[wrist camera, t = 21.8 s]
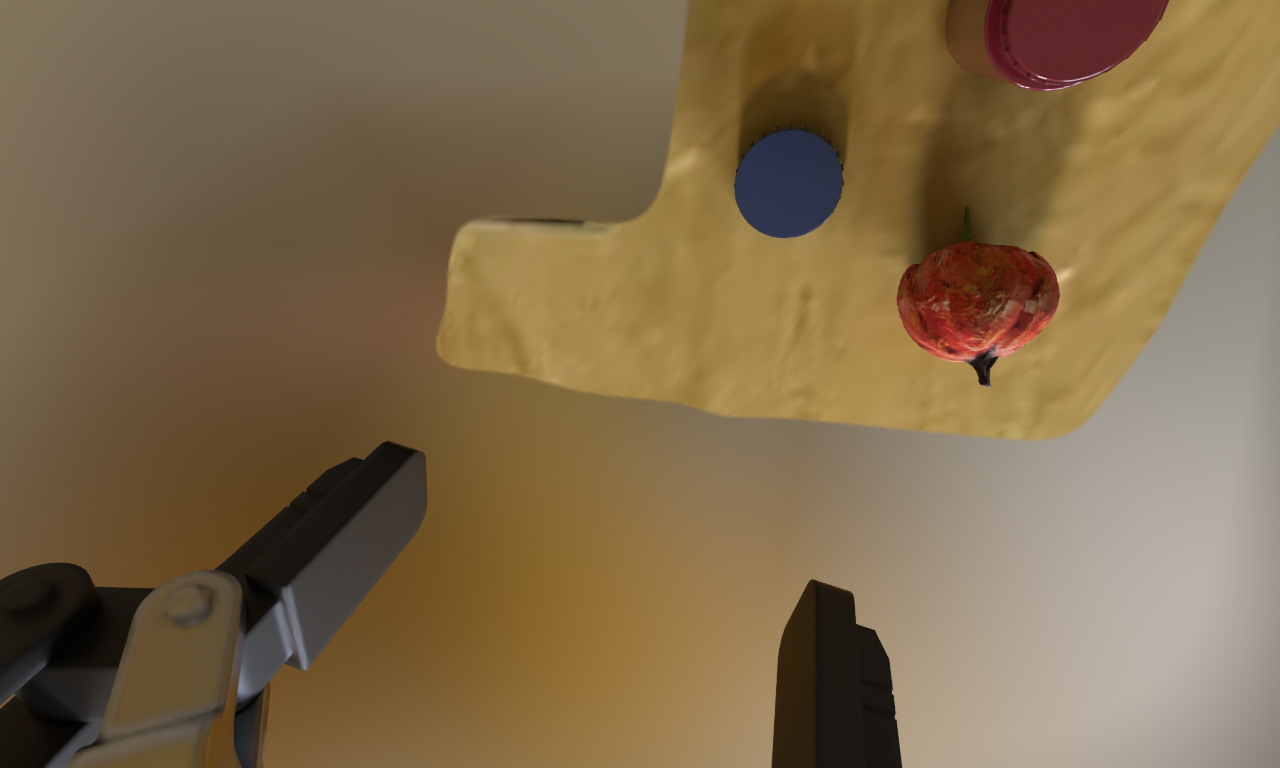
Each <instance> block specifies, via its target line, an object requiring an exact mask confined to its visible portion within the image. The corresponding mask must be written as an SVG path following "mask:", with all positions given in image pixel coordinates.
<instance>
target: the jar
mask: <svg viewBox="0 0 1280 768" xmlns="http://www.w3.org/2000/svg"><path fill="white" fill-rule="evenodd" d="M1168 2H1169V0H952V1H951V4H950V7H949V10H948V14H947V19H946V28H945V31H946V41H947V46H948V49H949V52H950V54H951V56H952V58H953V59H954V60H955V62H956V63H957V64H958V65H959V66H960V67H961V68H962V69H963V70H965V71H966V72H968V73H970V74H972V75H974V76H978V77H981V78H985V79H989V80H993V81H997V82H1001V83H1005V84H1009V85H1013V86H1017V87H1021V88H1025V89H1029V90H1036V91H1052V90H1059V89H1064V88H1068V87H1071V86H1074V85H1077V84H1080V83H1082V82H1084V81H1087V80H1089V79H1091V78H1094V77H1096V76H1098V75H1101V74H1103V73H1105V72H1108V71H1109V70H1111V69H1112V68H1114V67H1115V66H1117V65H1118V64H1119V63H1121V62H1122V61H1124V60H1125V59H1128V58H1129V57H1130V56H1131V55H1132V54H1133V52H1134V51H1135V50H1136V49H1137V48H1138V47H1139V46H1140V45H1141V44H1142V43H1143V42H1144V41H1146V40H1147V39H1148V37H1149V36H1150V34H1151V33H1152V31H1153V30H1154V28H1155V27H1156V25H1157V24H1158V22H1159V21H1160V20H1161V19H1162V17H1163V14H1164V12H1165V9H1166V7H1167V4H1168Z"/></svg>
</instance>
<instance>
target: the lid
mask: <svg viewBox="0 0 1280 768" xmlns="http://www.w3.org/2000/svg"><path fill="white" fill-rule="evenodd" d="M741 159H742V161H741V163H740V165H739V167H738V169H737V170H736V173H737V174H736V179H735V184H734V187H735V197H736V198H735V199H736V201H737V205H738V208H739V210H740V212H741V214H742V215H743V217H744V218H745V219H746V221H747V222H748V223H749V224H750V225H751V226H752V227H753V228H755V229H756V230H758V231H759V232H761V233H763V234H766V235H769V236H772V237H777V238H793V237H798V236H801V235H805V234H807V233H809V232H811V231H813V230H815V229H816V228H818V227H819V226H820V225H822V224H823V223H824V222H825V221H826V220H827V219H828V218H829V216H830V215H831V214H832V213H833V212H834V209H835V208H836V206H837V204H838V201H839V199H840V198H841V197H840V196H841V192H842V186H843V185H844V181H843V175H842V171H843V165H842V164H841V163H840V159H839V152H838V151H836V150H835V148H834V146H833V145H832V144H831V140H830V139H829V140H828V139H827V138H826V137H825V136H823V135H822V134H820V131H818V132H817V131H815V130H813V129H810V128H807V126H806V125H805V127H803V126H793V124H791V126H784V127H780V128H779V127H776V129H774V130H771V131H770V132H768V133H766V134H765V133H763V135H762V136H761V137H760V138H759V139H758V140H757V141H756V142H752V144H751V146H750V148H749V150H748V151H747V153H746V154H745V153H744V155H743V156H742V158H741Z"/></svg>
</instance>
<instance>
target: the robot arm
mask: <svg viewBox="0 0 1280 768" xmlns="http://www.w3.org/2000/svg"><path fill="white" fill-rule="evenodd" d="M426 509H427V482H426V458H425V454H424V453H423V452H422V451H418V450H415V449H412V448H409V447H406V446H403V445H400V444H397V443H394V442H391V441H386V442H384V443H382V444H381V445H380V446H378V447H377V448H376V449H375V450H374V451H373V452H372V453H371V454H370V455H369V456H368V457H367V458H366V459H365V460H361V459H358V458H355V457H353V458H351V459H349V460H347V461H345V462H343V463H341V464H339V465H337V466H334V467H332V468H330V469H328V470H327V471H325V472H324V473H323V474H322V475H321V476H320V477H319V478H318V479H317V480H315V481H314V482H313V483H312V484H311V485H310V486H309V487H308V488H307V490H306V492H302V493H301V494H300V495H299V496H298V497H296V498H295V499H294V500H293V501H292V502H291V503H290V506H289V507H285V508H284V509H283V510H282V511H281V512H280V513H278V514H277V515H276V516H275V517H274V518H273V519H272V520H271V521H269V522H268V523H267V524H266V525H265V526H264V527H263V528H262V529H260V531H258V532H257V533H256V534H255V535H254V536H253V537H251V538H250V539H249V540H248V541H247V542H246V543H245V544H244V545H242V546H241V547H240V548H239V549H238V550H237V551H236V552H235V553H234V554H232V555H231V557H229V558H228V559H227V560H226V561H225V562H223V563H222V564H221V565H220V566H218V567H217V568H216V569H214V570H201V571H195V572H190V573H186V574H183V575H180V576H178V577H175V578H173V579H171V580H169V581H167V582H165V583H164V584H162V585H161V586H159V587H158V588H153V589H152V588H151V589H149V588H114V587H95V585H94V583H93V582H92V580H91V578H90V576H89V574H88V573H87V571H86V570H85V569H83V568H82V567H80V566H77V565H75V564H70V563H48V564H43V565H38V566H34V567H30V568H27V569H24V570H21V571H19V572H16V573H14V574H11V575H9V576H7V577H5V578H4V579H2V580H0V705H1V704H2V703H3V702H5V701H6V700H7V699H8V698H9V697H10V696H11V695H13V694H14V693H15V695H16V696H14V697H13V698H12V699H11V700H10V701H9V702H8V703H6V704H5V705H4V706H3V707H2V708H1V709H0V768H263V765H264V754H265V743H266V732H267V731H266V730H267V720H268V710H269V698H270V680H271V679H272V677H273V676H274V675H275V674H276V673H277V671H278V670H279V669H280V668H281V667H282V666H283V664H287V665H290V666H292V667H295V668H298V669H300V670H303V671H306V670H307V669H308V667H309V666H310V665H311V664H312V662H313V661H314V660H315V659H316V657H317V656H318V655H319V654H320V652H321V651H322V650H323V649H324V647H325V646H326V645H327V644H328V642H329V641H330V639H332V637H333V636H334V635H335V634H336V632H337V631H338V630H339V629H340V627H341V626H342V625H343V624H344V622H345V621H346V620H347V619H348V617H349V616H350V615H351V614H352V612H353V611H354V610H355V609H356V607H357V606H358V605H359V604H360V602H361V601H362V600H363V598H364V597H365V596H366V595H367V594H368V592H369V591H370V590H371V589H372V587H373V586H374V585H375V584H376V583H377V581H378V580H379V579H380V578H381V576H382V575H383V574H384V573H385V571H386V570H387V568H389V566H390V565H391V564H392V562H393V561H394V560H395V559H396V558H397V556H398V555H399V554H400V552H401V551H402V550H403V549H404V548H405V546H406V545H407V544H408V542H409V541H410V540H411V539H412V537H413V536H414V535H415V534H416V532H417V531H418V529H419V527H420V526H421V524H422V522H423V519H424V516H425V513H426ZM777 669H778V670H777V686H776V701H775V719H774V736H773V753H772V768H902V762H901V755H900V746H899V737H898V729H897V720H895V714H896V713H895V703H894V695H893V694H892V689H893V687H892V679H891V670H890V662H889V658H888V656H887V654H886V652H885V650H884V648H883V646H882V644H881V642H880V640H879V638H878V636H877V634H876V632H875V630H872V629H869V628H866V627H863V626H860V625H857V624H856V616H855V602H854V596H853V594H852V593H851V592H850V591H847V590H844V589H841V588H838V587H835V586H832V585H829V584H826V583H822V582H819V581H816V580H813V579H812V580H810V581H809V583H808V584H807V586H806V588H805V590H804V592H803V594H802V596H801V598H800V600H799V602H798V603H797V605H796V607H795V610H794V611H793V613H792V615H791V617H790V619H789V621H788V623H787V625H786V627H785V629H784V632H783V635H782V639H781V643H780V648H779V655H778V667H777Z"/></svg>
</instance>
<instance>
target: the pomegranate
mask: <svg viewBox="0 0 1280 768" xmlns="http://www.w3.org/2000/svg"><path fill="white" fill-rule="evenodd" d="M964 223H965V229H964V232H963V235H962V237H963V239H964V241H965V242H959V243H956V244H953V245H950V246H948V247H946V248H943V249H940V250H937V251H934V252H932V253H931V254H930V255H928V256H927V257H925V258H924V259H923V261H922V262H921V263H920V264H912V265H911V266H910V267H908V268H907V270H906V271H905V273H904V274H903V276H902V278H901V281H900V285H899V288H898V294H897V305H898V311H899V314H900V318H901V320H902V323H903V325H904V327H905V329H906V331H907V332H908V334H909V335H910V337H911V338H912V339H913V340H914V341H915V342H916V343H917V344H918V345H919V346H920V347H921V348H923V349H924V350H926V351H927V352H928V353H930V354H932V355H934V356H936V357H939V358H941V359H944V360H947V361H950V362H967V363H969V364H970V365H971V366H973V368H974V369H975V370H976V372H977V374H978V377H979V380H978V381H979V383H980V384H981V385H982V386H985V387H989V388H992V387H991V385H990V380H989V378H990V368H991V367H992V366H993V365H994V363H995V362H996V360H997V359H998V357H1001V356H1007V355H1010V354H1011V353H1013V352H1014V351H1016V350H1018V349H1020V348H1022V347H1023V346H1024V345H1025V344H1026V343H1027V342H1028V341H1030V340H1031V339H1033V338H1034V337H1035V336H1036V335H1038V334H1039V333H1040V332H1041V331H1042V330H1043V329H1044V328H1045V326H1046V325H1047V324H1048V323H1049V321H1050V320H1051V318H1052V316H1053V315H1054V313H1055V311H1056V309H1057V306H1058V302H1059V297H1060V293H1059V286H1058V282H1057V278H1056V274H1055V272H1054V270H1053V269H1052V267H1051V266H1050V265H1049V264H1048V262H1047V261H1046V260H1045V259H1044V258H1043V257H1042V256H1040V255H1039V254H1037V253H1036V252H1033V251H1031V252H1027V251H1025V250H1022V249H1020V248H1018V247H1014V246H1004V245H1001V246H999V245H990V244H981V243H973V242H972V238H971V227H970V214H969V207H968V205H967V206H966V207H965V213H964Z"/></svg>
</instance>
